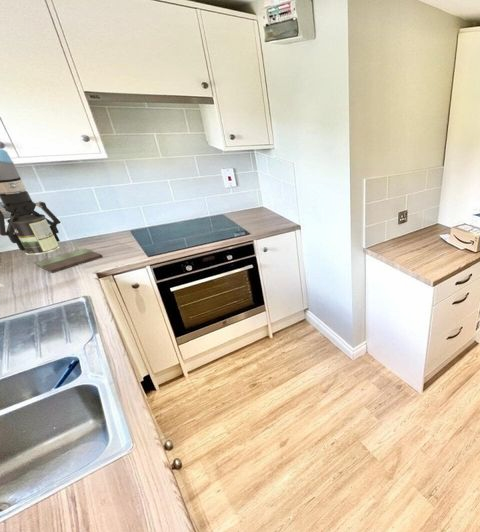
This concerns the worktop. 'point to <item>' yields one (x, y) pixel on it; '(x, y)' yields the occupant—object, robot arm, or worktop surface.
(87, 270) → the worktop surface
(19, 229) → the coffee can
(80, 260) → the serving board
